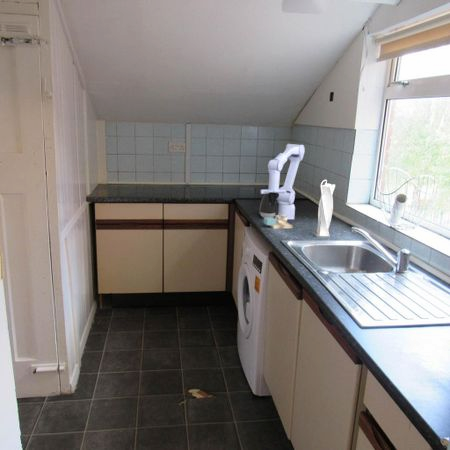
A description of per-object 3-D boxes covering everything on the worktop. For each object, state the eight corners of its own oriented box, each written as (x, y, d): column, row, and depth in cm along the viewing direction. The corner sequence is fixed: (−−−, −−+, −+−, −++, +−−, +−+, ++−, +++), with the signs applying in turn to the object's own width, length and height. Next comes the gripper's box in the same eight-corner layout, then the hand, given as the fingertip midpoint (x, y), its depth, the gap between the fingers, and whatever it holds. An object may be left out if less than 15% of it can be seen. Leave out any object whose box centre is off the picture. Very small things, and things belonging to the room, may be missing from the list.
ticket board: (282, 222, 246) (283, 214, 245) (292, 228, 234) (293, 219, 233) (264, 223, 243) (265, 214, 241) (273, 228, 230) (274, 220, 229)
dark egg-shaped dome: (271, 220, 250) (273, 194, 246) (255, 217, 255) (257, 192, 251) (279, 217, 258) (281, 192, 255) (263, 214, 263) (265, 190, 260)
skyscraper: (312, 233, 225) (317, 179, 219) (327, 233, 226) (333, 179, 219) (316, 237, 217) (322, 181, 210) (332, 237, 218) (338, 182, 211)
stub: (272, 222, 237) (272, 217, 236) (275, 224, 233) (276, 219, 232) (263, 222, 236) (263, 217, 235) (267, 225, 231) (267, 219, 230)
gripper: (264, 183, 232) (262, 208, 236) (289, 183, 237) (287, 207, 240) (259, 181, 239) (258, 205, 242) (283, 181, 243) (282, 205, 246)
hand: (272, 206), depth 241 cm, fingers closed
